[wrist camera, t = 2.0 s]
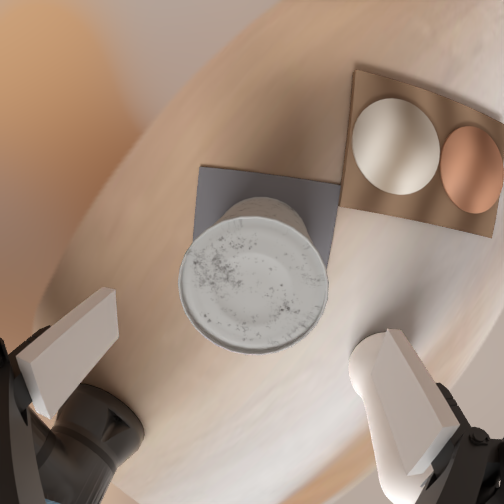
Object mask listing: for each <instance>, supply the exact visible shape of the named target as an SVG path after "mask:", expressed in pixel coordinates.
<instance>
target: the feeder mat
mask: <svg viewBox="0 0 504 504" xmlns="http://www.w3.org/2000/svg"><path fill="white" fill-rule="evenodd" d="M340 189H341V185H336V184H330V183H324V182H318V181H312V180H305V179H299V178H292V177H285V176H278V175H271V174H263V173H255V172H246V171H238V170H228V169H219V168H208V167H200V168H199V177H198V187H197V198H196V209H195V220H194V233H193V241H194V240H195V239H196V238H197V237H198V236H199V235H200V234H202V233H203V232H204V231H205V230H206V229H207V228H209V227H211V226H212V225H213V224H215V223H216V222H217V221H218V220H219V219H220V218H221V217H222V216H223V215H224V214H225V212H226V211H228V210H229V209H230V208H231V207H232V206H233V205H235V204H237V203H239V202H241V201H242V200H245V199H249V198H253V197H269V198H273V199H277V200H279V201H282V202H284V203H286V204H287V205H289V206H290V207H291V208H293V209H294V210H295V211H296V212H297V214H298V215H299V216H300V217H301V218H302V220H303V222H304V224H305V226H306V228H307V232H308V234H309V236H310V238H311V240H312V242H313V245H314V246H315V247H316V249H317V250H318V251H319V253H320V256H321V258H322V260H323V262H324V264H325V266H326V269H327V264H328V259H329V254H330V248H331V243H332V238H333V232H334V226H335V220H336V214H337V208H338V202H339V196H340Z"/></svg>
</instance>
